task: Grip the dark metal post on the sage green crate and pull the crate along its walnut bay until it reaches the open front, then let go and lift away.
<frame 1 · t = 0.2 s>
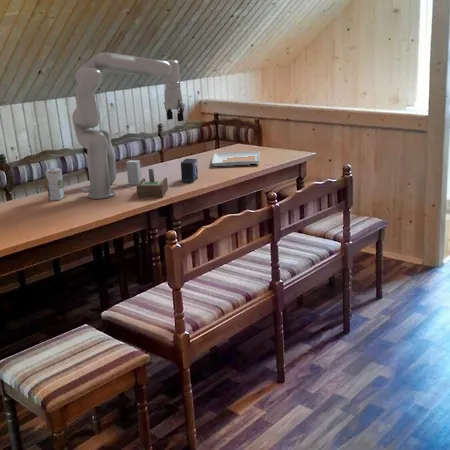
hand: (175, 120, 318), 31 cm above the table, tool pointing down, fingers open, 9 cm apart
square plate: (236, 163, 362), on the table
small box: (190, 180, 324), on the table
syrup box: (57, 199, 301), on the table
glass bottle: (107, 184, 326), on the table
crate: (150, 181, 297), point 6 cm above the table, slide at 0.0 cm
skincare box: (135, 184, 323), on the table
bay: (153, 193, 302), on the table
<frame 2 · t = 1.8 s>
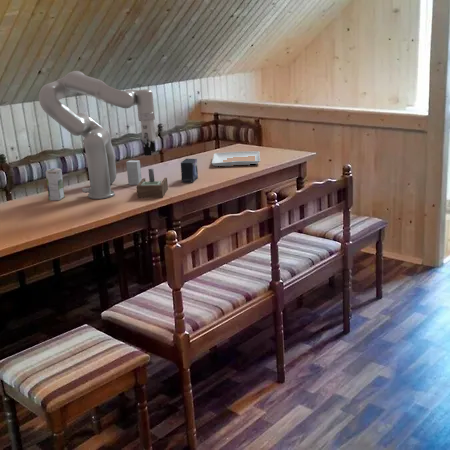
hand: (149, 153, 296), 20 cm above the table, tool pointing down, fingers open, 9 cm apart
nothing on the table moved.
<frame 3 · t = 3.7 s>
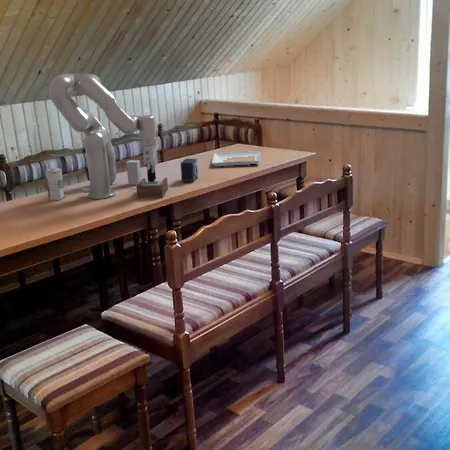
hand: (151, 180, 300), 7 cm above the table, tool pointing down, fingers closed on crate, 2 cm apart
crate: (150, 181, 297), point 6 cm above the table, slide at 0.0 cm, touching gripper
everything else where it was.
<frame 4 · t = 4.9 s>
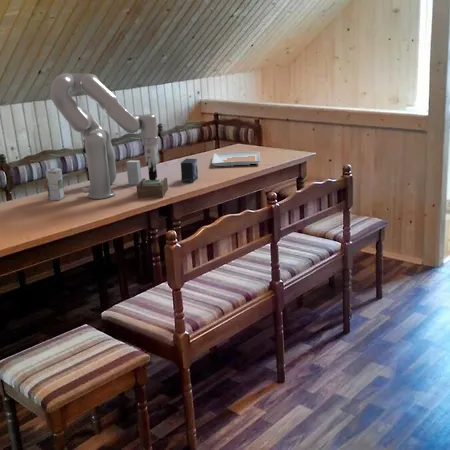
hand: (153, 178, 303), 7 cm above the table, tool pointing down, fingers closed on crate, 2 cm apart
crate: (152, 180, 300), point 6 cm above the table, slide at 3.5 cm, touching gripper
everything else where it was.
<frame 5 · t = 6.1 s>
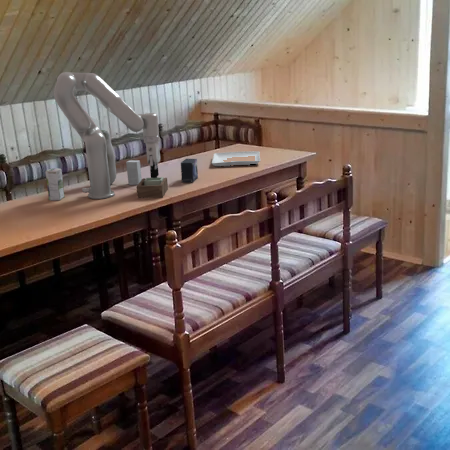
hand: (154, 176, 307), 7 cm above the table, tool pointing down, fingers closed
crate: (153, 178, 305), point 6 cm above the table, slide at 8.0 cm
everything else where it was.
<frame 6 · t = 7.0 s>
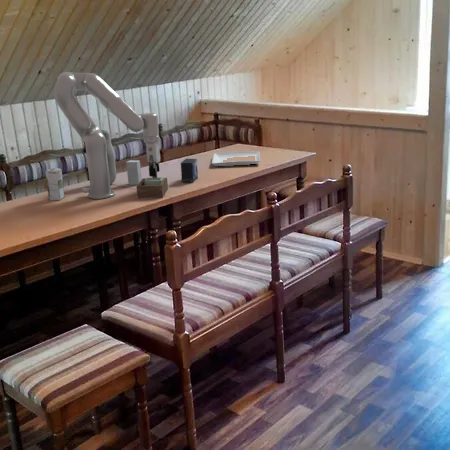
hand: (154, 174, 307), 8 cm above the table, tool pointing down, fingers open, 9 cm apart
nothing on the table moved.
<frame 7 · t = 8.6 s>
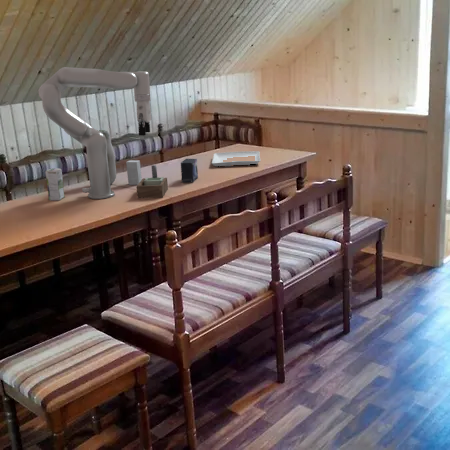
hand: (144, 133, 304), 27 cm above the table, tool pointing down, fingers open, 9 cm apart
nothing on the table moved.
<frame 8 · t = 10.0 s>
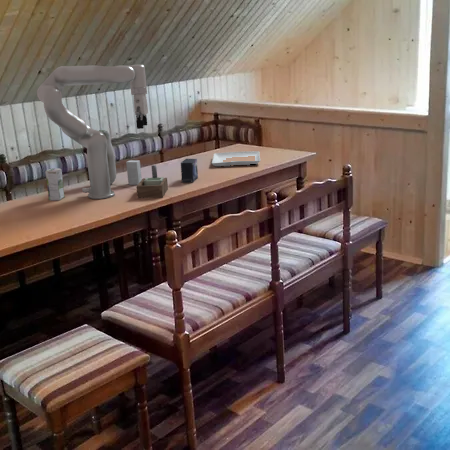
hand: (142, 126, 305), 30 cm above the table, tool pointing down, fingers open, 9 cm apart
nothing on the table moved.
at the end: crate slide at 8.0 cm; the gripper is holding nothing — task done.
